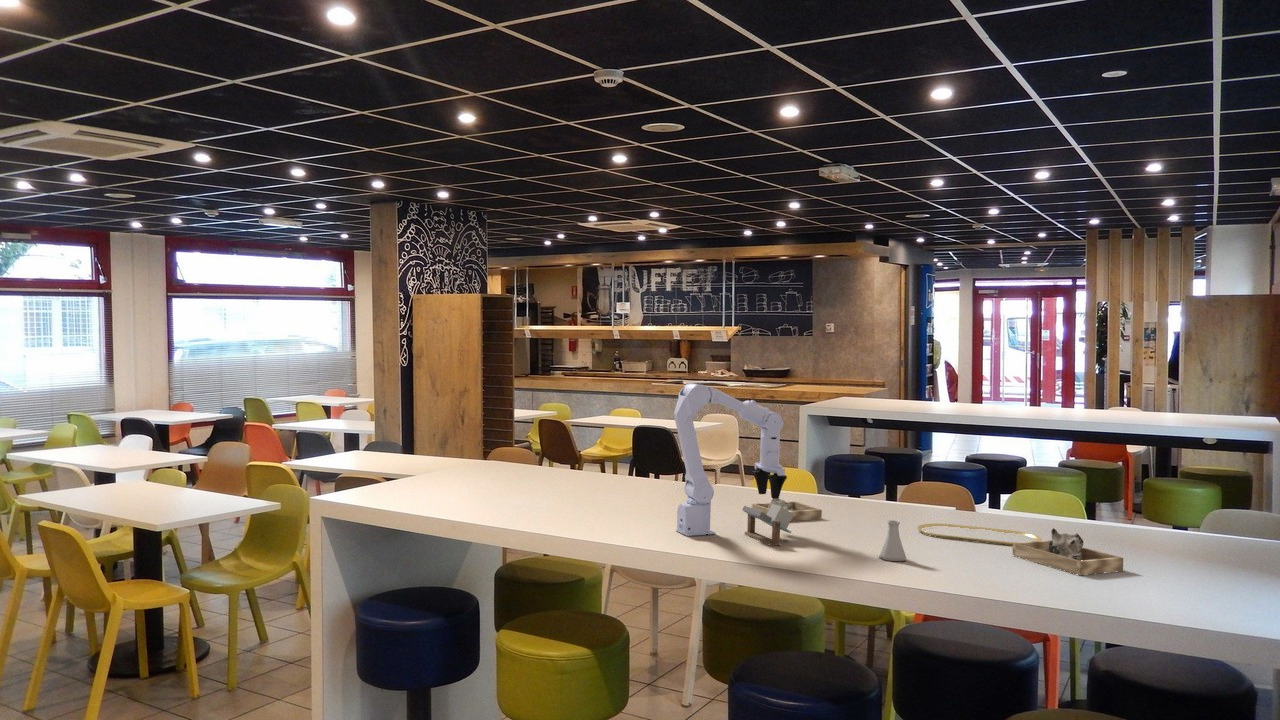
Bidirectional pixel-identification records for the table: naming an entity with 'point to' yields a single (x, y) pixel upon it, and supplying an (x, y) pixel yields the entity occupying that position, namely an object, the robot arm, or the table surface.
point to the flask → (893, 544)
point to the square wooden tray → (794, 510)
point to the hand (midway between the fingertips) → (768, 496)
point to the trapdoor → (761, 517)
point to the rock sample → (781, 504)
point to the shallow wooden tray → (1089, 565)
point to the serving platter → (975, 538)
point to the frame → (752, 533)
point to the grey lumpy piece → (1066, 545)
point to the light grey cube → (780, 515)
